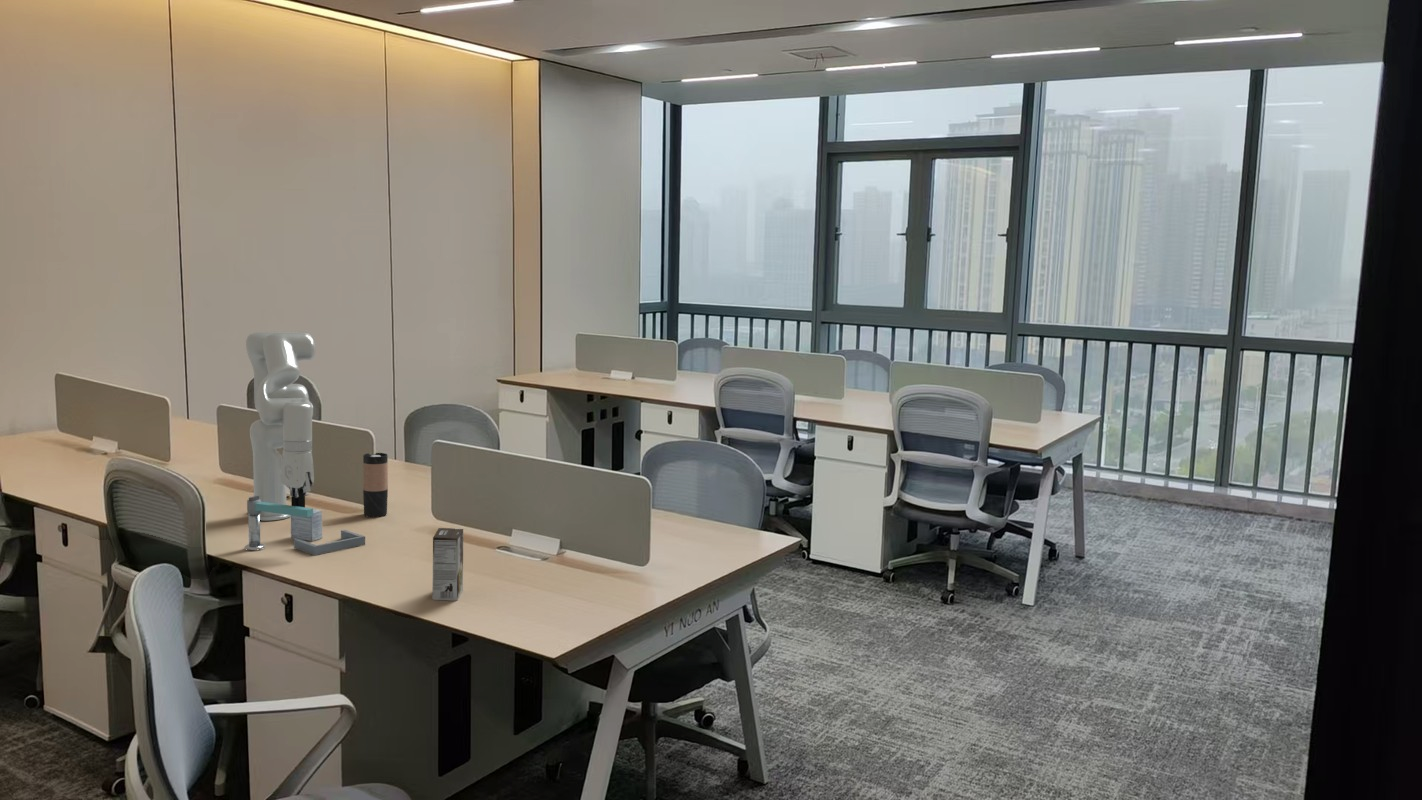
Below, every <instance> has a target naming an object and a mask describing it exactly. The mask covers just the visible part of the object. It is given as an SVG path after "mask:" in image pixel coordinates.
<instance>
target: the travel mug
mask: <svg viewBox="0 0 1422 800" xmlns="http://www.w3.org/2000/svg"><path fill="white" fill-rule="evenodd" d="M362 458H363V459H362V460H363V461H362V462H363V466H362V467H363V470H362V474H363V475H362V476H363V477H362V482H363V483H362V494H363V495H362V496H363V497H362V498H363V515H365V516H364V517H366V516H368V517H367V518H381V517H380V516H383V517H385V516H384V515H386V514H387V515H388V491H389V490H388V489H389V488H388V487H389V481H388V479H389V478H388V474H389V473H388V471H389V469H388V467H389V465H388V462H389V461H388V454H387V453H384V452H376V453H375V454H370V453H364V454H363V457H362ZM387 515H386V516H387Z"/></svg>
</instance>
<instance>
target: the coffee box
mask: <svg viewBox="0 0 1422 800" xmlns="http://www.w3.org/2000/svg"><path fill="white" fill-rule="evenodd" d="M463 589H464V528H452V527H451V528H450V527H440V528H438V529H437V531H436V532H435V534H434V536H432V601H458V599H460V595H461V594H462V591H463Z"/></svg>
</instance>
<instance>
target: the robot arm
mask: <svg viewBox="0 0 1422 800" xmlns="http://www.w3.org/2000/svg"><path fill="white" fill-rule="evenodd" d="M245 348H246V353H247V356H248V358H249V361H250V363H251V366H252V369H253V388H254V389H253V390H254V391H253V397H254V398H253V399H254V407H255V410H256V412H257V413H258V416H259V418H260V419H257V420H255V421H253V422H252V423H251V425H250V426H249V437H250V443H251V450H252V461H253V462H252V467H253V496H259V499H260V500H261V502H267V503H275V504H283V505H287V488H288V490H289V493H290V494H289V496H291V497H290V498H291V499H290V500H291V501H290V502H291V504H290V506H298V507H306V496H307V493H311V487H313V486H314V481H315V473H314V472H315V471H314V460H313V453H312V452H313V416H314V406H313V403H312V402H311V401H310V396H309V392H308V388H307V387H306V386H304V385H303V384H301V383H295V382H297V380H298V379H299V377H300V373H301V372H300V367H299V363H298V361H312V360H313V358H314V357H315V356H316V342H315V340H314V338H313V336H312V335H311V334H310V333H308V332H304V331H257V332H252V333H249V334H248V335H247V337H246V340H245ZM278 449H283V450H282V452H281V453H282V454H281V453H280V452H279V451H278ZM288 518H291V515H286V514H279V513H271V512H263V511H261V513H260V520H261V521H262V522H265V521H266V522H267V521H268V522H269V521H278V520H279V521H280V520H284V519H288ZM261 521H260V522H261Z"/></svg>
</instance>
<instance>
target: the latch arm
mask: <svg viewBox="0 0 1422 800" xmlns="http://www.w3.org/2000/svg"><path fill="white" fill-rule="evenodd" d="M313 509H314V508H312V507H306V506H305V507H298V506H291V504H290V505H289V504H286V505H283V504H275V503H267V502H261V500H260V499H259V496H254V495H253V496H250V497H248V499H247V500H246V510H247V511H246V514H247V515H248V514H250V515H256V514H260V513H261V511H263V512H271V513H279V514H286V515H294V516H301V517H310V516H313Z"/></svg>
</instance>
